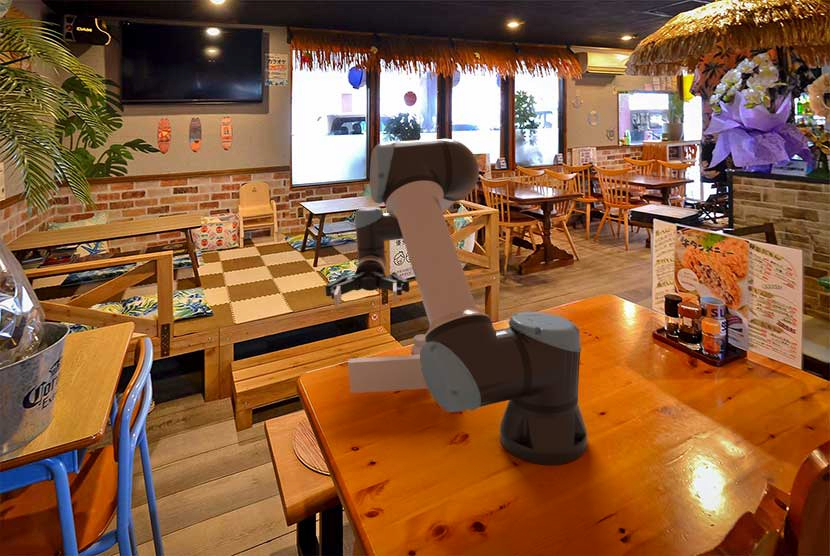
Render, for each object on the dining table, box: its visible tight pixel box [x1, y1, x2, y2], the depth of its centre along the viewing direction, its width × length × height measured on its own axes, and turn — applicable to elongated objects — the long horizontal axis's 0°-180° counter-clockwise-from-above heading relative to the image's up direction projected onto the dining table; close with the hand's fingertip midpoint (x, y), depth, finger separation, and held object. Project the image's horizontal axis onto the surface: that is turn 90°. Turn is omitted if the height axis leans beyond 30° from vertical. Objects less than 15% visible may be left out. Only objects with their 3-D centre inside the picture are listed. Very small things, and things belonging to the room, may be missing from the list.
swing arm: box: [347, 354, 428, 394], centre depth 105 cm, size 20×2×7 cm, turn 91°
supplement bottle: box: [410, 333, 426, 355], centre depth 115 cm, size 5×5×10 cm
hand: (365, 298), depth 109 cm, fingers open, 12 cm apart
